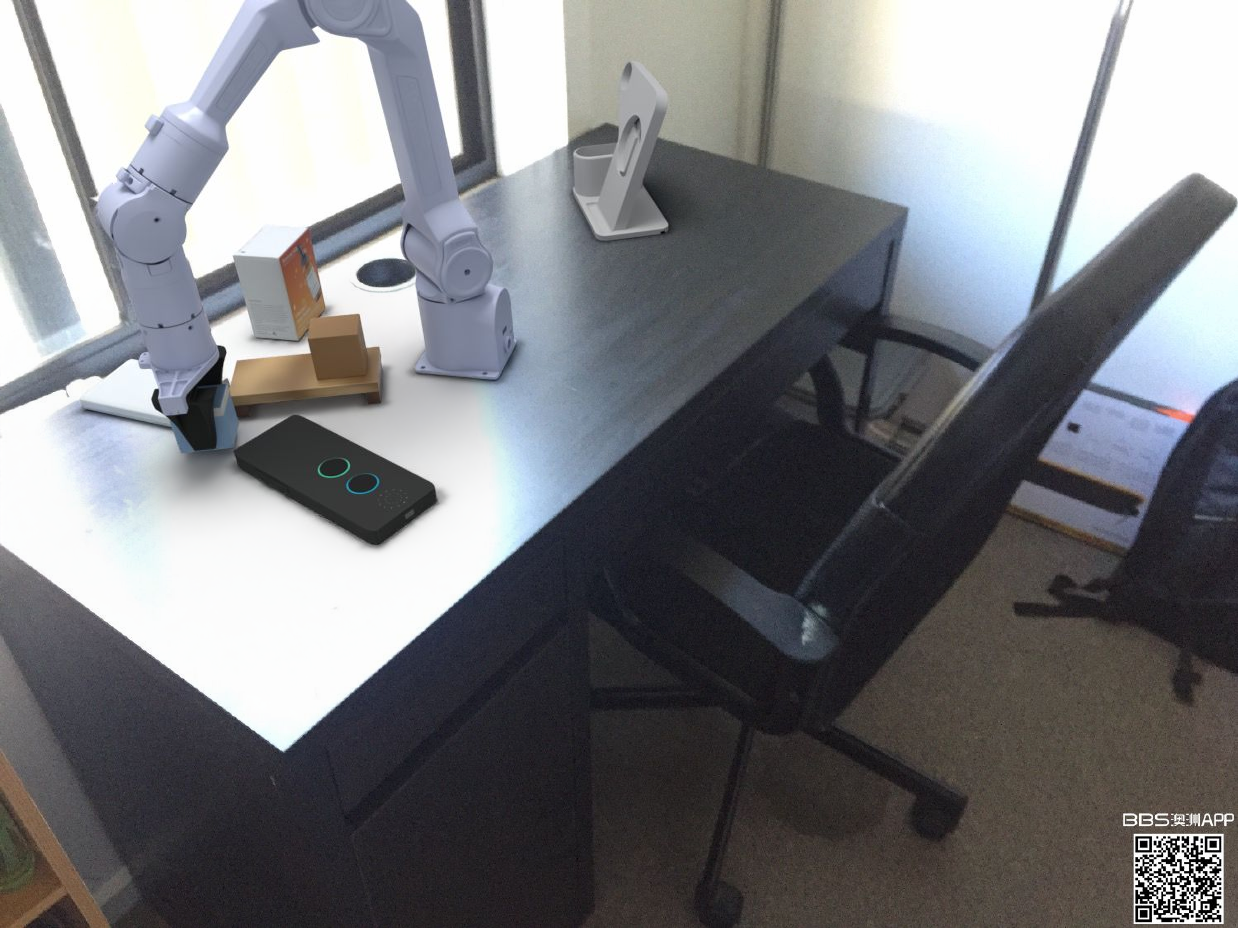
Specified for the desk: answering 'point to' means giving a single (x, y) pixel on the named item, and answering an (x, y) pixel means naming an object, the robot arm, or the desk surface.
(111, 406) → the hard drive
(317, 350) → the brown carton
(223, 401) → the blue carton
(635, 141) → the phone holder
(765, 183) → the desk surface
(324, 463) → the smart home device
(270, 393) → the wooden stand
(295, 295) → the small box
